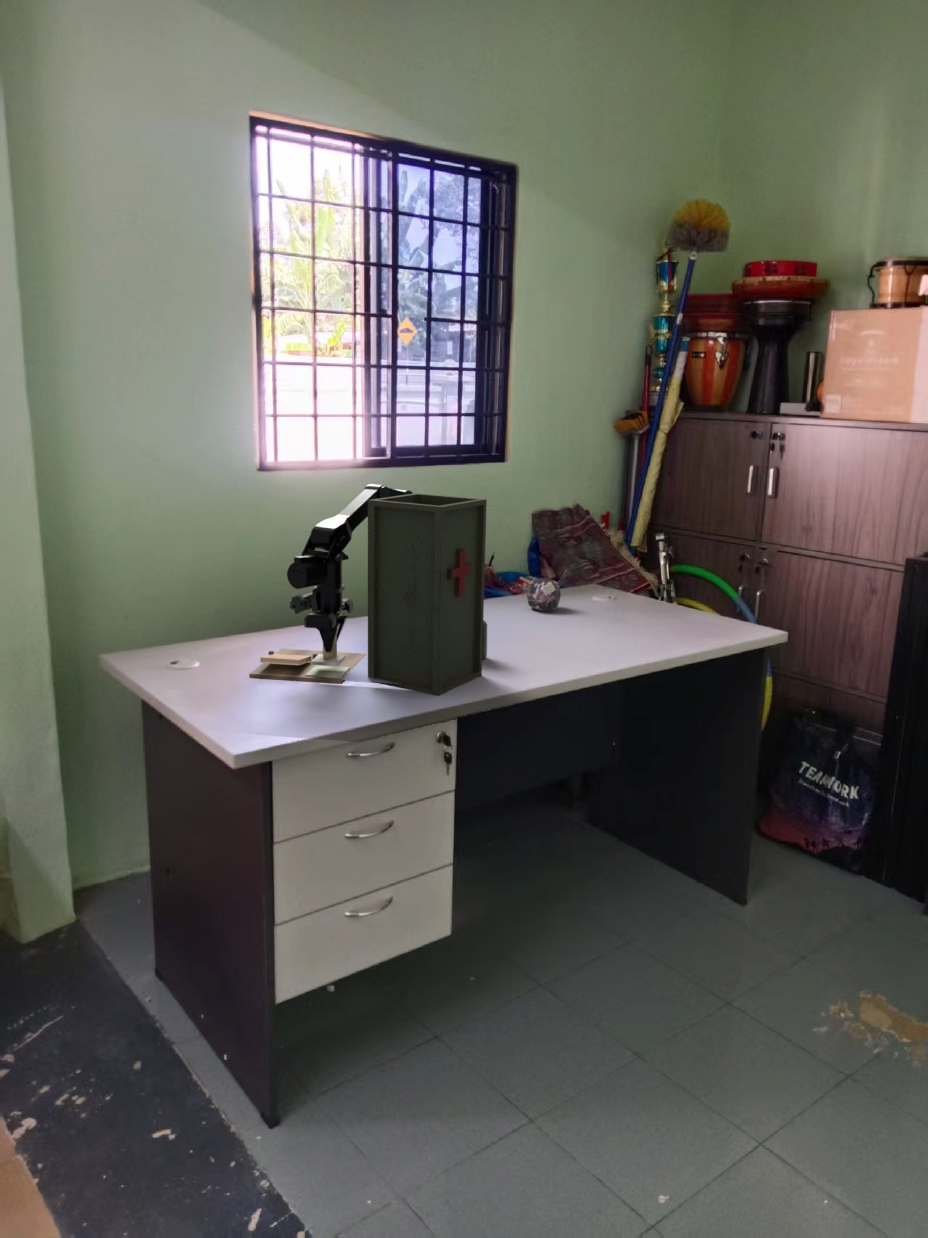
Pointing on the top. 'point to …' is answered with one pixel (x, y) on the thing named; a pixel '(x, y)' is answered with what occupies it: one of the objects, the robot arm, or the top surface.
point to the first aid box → (426, 590)
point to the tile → (285, 659)
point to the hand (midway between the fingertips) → (330, 650)
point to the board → (307, 668)
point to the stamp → (328, 657)
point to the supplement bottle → (484, 640)
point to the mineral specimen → (543, 594)
